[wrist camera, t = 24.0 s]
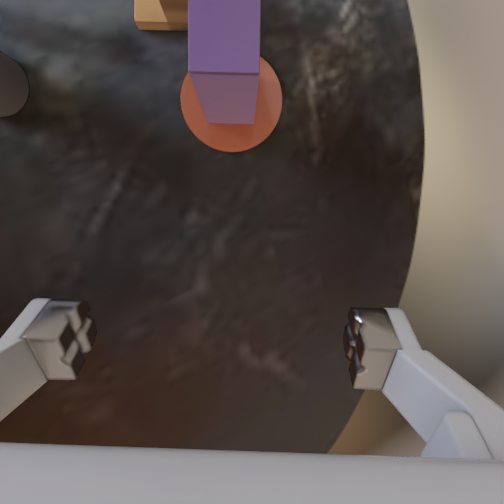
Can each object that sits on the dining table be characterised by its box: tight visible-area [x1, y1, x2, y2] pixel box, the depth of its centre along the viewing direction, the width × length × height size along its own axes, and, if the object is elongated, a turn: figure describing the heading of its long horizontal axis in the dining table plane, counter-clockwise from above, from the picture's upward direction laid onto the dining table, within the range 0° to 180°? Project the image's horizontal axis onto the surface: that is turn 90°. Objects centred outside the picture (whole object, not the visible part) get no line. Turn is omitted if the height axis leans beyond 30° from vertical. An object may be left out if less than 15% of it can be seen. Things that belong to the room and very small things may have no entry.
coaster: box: [181, 57, 282, 153], centre depth 34 cm, size 10×10×1 cm
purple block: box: [188, 0, 261, 124], centre depth 28 cm, size 12×5×5 cm
